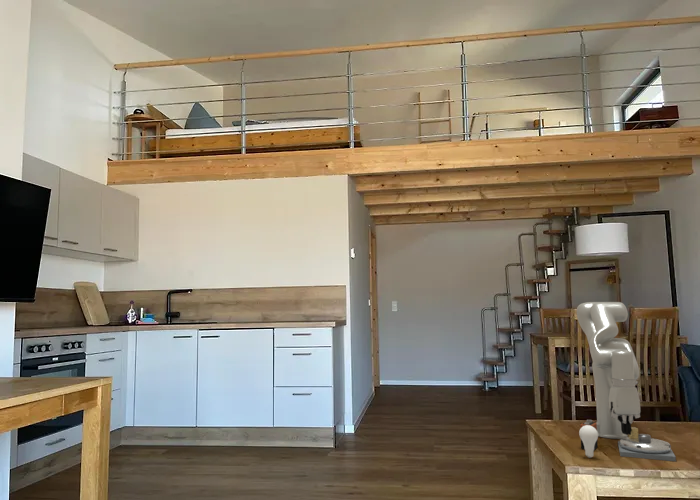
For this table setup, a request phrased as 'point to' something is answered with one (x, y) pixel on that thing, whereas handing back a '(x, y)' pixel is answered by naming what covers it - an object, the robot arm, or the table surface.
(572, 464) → the table surface
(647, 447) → the round tabbed tray
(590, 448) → the lightbulb
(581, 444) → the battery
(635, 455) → the base plate
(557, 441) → the table surface
